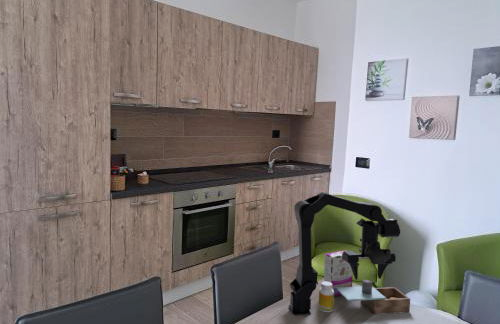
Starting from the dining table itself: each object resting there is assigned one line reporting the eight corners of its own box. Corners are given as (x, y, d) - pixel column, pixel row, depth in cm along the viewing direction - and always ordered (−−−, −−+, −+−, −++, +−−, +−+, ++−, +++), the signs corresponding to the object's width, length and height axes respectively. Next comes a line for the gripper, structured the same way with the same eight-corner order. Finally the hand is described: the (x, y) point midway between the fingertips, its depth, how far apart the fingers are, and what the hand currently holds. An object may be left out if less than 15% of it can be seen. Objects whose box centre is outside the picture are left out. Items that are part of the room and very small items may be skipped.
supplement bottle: (333, 313, 125) (334, 287, 125) (318, 311, 126) (319, 285, 126) (333, 306, 131) (334, 281, 130) (318, 304, 132) (319, 279, 131)
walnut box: (373, 314, 126) (374, 300, 125) (360, 301, 135) (361, 288, 135) (409, 312, 128) (410, 298, 127) (394, 299, 138) (394, 287, 137)
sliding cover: (347, 301, 124) (348, 288, 123) (336, 289, 133) (337, 277, 133) (385, 299, 126) (386, 286, 126) (371, 287, 136) (372, 275, 135)
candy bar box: (343, 288, 147) (345, 249, 146) (352, 292, 143) (354, 253, 141) (322, 292, 142) (324, 253, 141) (330, 297, 138) (332, 257, 136)
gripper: (356, 245, 119) (353, 289, 120) (406, 243, 122) (403, 287, 123) (342, 235, 130) (340, 276, 131) (388, 234, 133) (386, 274, 134)
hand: (367, 278), depth 130 cm, fingers open, 9 cm apart
